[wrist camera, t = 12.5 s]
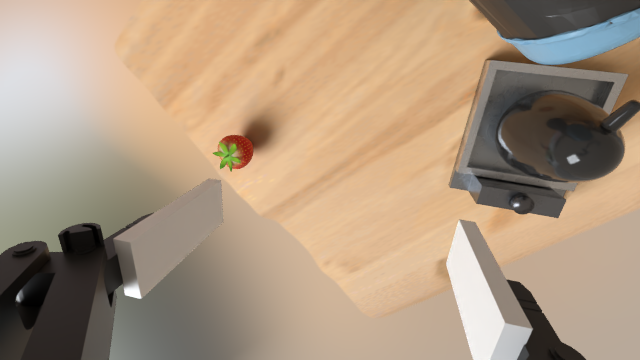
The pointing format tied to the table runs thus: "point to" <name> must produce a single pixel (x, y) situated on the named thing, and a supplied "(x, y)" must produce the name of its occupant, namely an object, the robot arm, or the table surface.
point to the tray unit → (479, 136)
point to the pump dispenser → (562, 136)
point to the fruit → (234, 151)
